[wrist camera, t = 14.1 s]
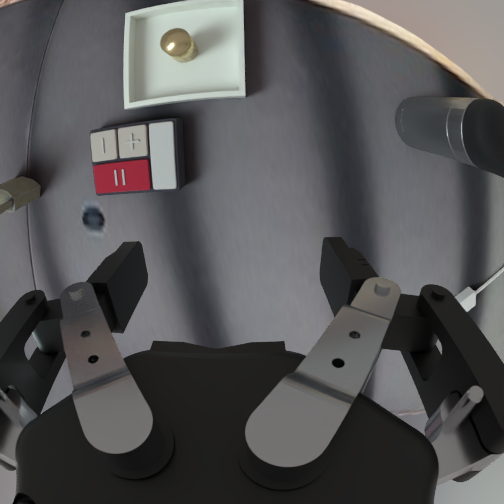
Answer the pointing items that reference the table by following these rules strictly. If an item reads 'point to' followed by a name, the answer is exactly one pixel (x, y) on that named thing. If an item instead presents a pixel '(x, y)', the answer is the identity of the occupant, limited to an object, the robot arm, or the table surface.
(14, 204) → the padlock
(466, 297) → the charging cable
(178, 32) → the cylinder
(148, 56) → the tray
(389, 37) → the table surface
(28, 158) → the table surface
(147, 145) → the calculator
